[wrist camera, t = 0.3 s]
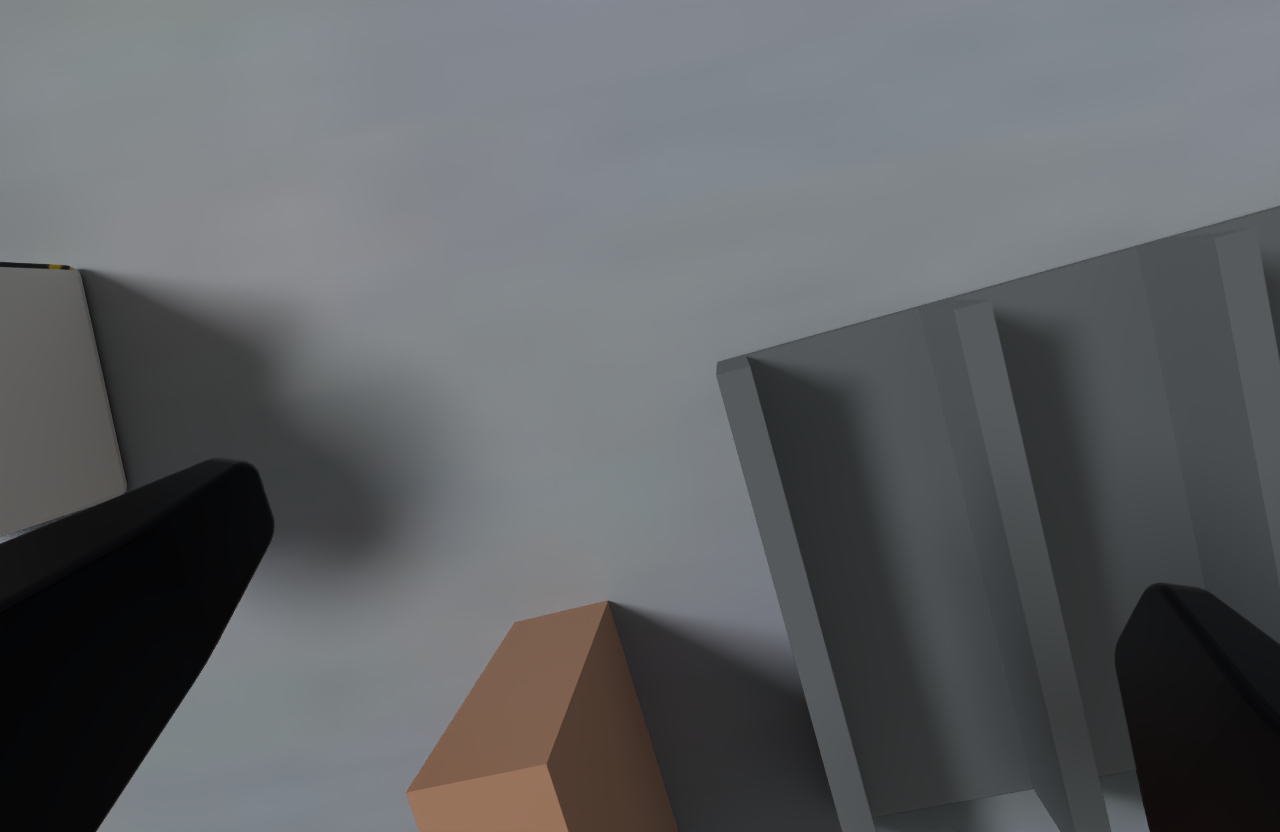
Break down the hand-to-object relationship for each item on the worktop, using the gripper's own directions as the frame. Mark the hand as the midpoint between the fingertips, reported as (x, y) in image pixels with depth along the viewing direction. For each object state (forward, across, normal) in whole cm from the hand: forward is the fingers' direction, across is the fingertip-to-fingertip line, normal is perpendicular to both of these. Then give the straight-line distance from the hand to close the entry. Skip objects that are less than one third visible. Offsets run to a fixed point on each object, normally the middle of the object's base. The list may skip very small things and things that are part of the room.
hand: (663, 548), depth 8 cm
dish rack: (+12, -10, +8) cm, 18 cm away
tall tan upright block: (+8, +3, +16) cm, 18 cm away
